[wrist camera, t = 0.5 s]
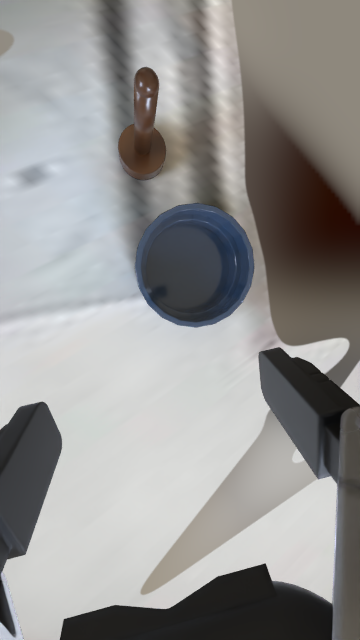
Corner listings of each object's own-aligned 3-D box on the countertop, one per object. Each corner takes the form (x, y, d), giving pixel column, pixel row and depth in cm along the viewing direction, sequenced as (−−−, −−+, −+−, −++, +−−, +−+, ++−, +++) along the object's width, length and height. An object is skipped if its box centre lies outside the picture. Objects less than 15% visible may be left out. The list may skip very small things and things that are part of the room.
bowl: (115, 244, 33) (112, 238, 28) (210, 196, 34) (224, 181, 28) (165, 336, 36) (171, 347, 31) (251, 290, 37) (271, 292, 31)
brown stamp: (110, 143, 31) (93, 49, 18) (151, 124, 31) (163, 18, 18) (133, 187, 32) (132, 129, 19) (171, 168, 32) (196, 98, 19)
